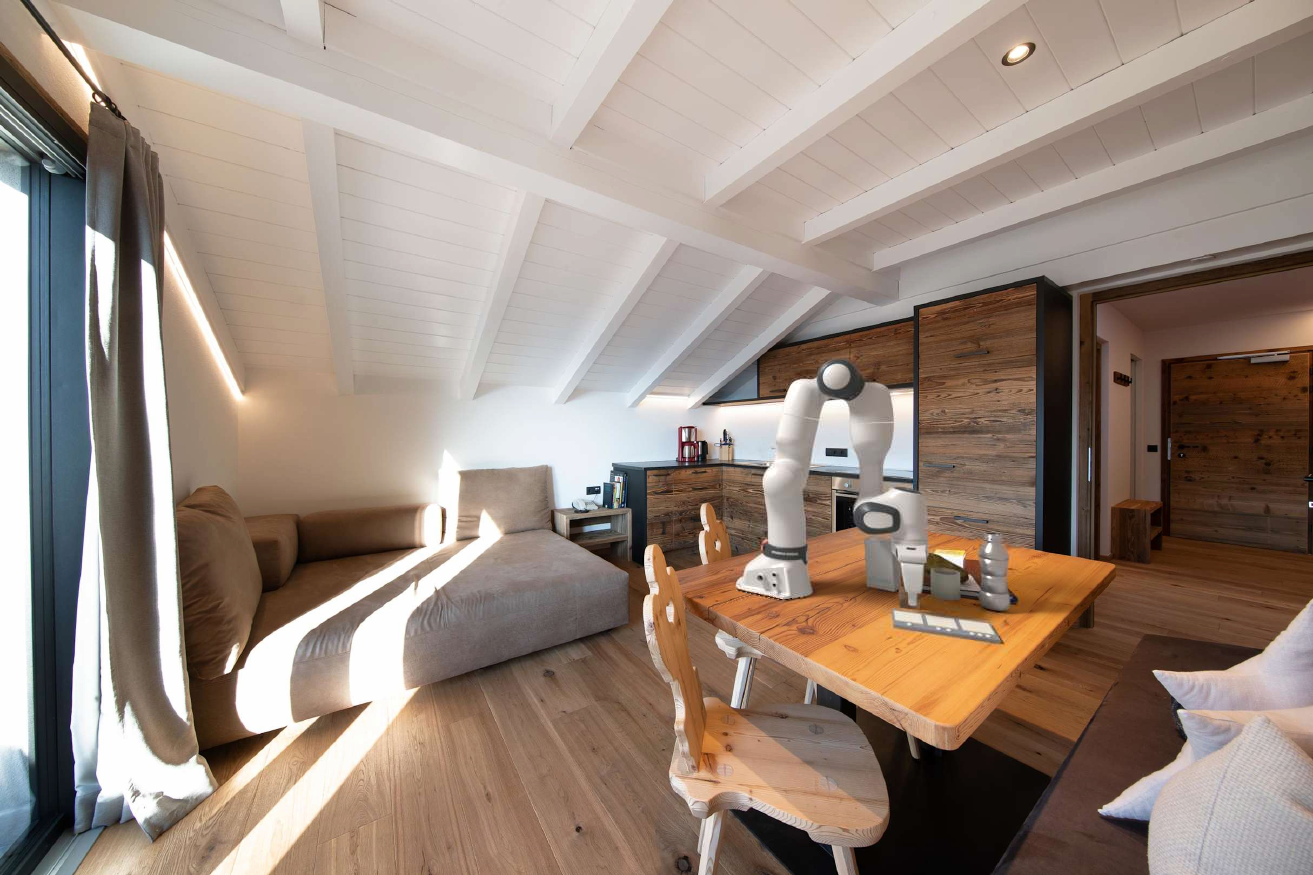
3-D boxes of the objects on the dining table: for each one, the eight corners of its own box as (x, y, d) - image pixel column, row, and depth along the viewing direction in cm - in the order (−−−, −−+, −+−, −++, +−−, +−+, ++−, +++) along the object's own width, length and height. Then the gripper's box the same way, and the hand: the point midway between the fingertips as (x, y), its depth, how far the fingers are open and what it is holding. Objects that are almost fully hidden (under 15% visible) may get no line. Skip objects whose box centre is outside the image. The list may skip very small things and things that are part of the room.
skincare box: (901, 587, 132) (900, 538, 132) (894, 593, 128) (893, 542, 128) (871, 581, 138) (871, 534, 138) (864, 586, 134) (863, 538, 134)
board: (893, 627, 106) (893, 622, 106) (891, 611, 115) (891, 607, 115) (1000, 643, 97) (1000, 638, 97) (989, 625, 106) (989, 620, 106)
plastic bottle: (1016, 614, 112) (1015, 537, 111) (986, 613, 113) (985, 536, 113) (1001, 604, 118) (1001, 531, 118) (973, 603, 120) (972, 530, 119)
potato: (959, 589, 130) (959, 562, 130) (914, 577, 141) (914, 552, 141) (971, 583, 135) (971, 557, 134) (927, 572, 145) (926, 548, 145)
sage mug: (932, 598, 124) (932, 573, 124) (929, 589, 130) (929, 566, 130) (962, 601, 121) (962, 576, 121) (958, 593, 127) (957, 568, 127)
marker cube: (900, 608, 118) (900, 591, 118) (899, 601, 122) (898, 585, 122) (919, 610, 116) (919, 593, 116) (917, 604, 120) (917, 588, 120)
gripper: (893, 537, 129) (895, 584, 129) (898, 556, 111) (899, 610, 111) (918, 539, 127) (920, 586, 127) (927, 558, 108) (929, 614, 108)
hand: (910, 598), depth 119 cm, fingers open, 8 cm apart
